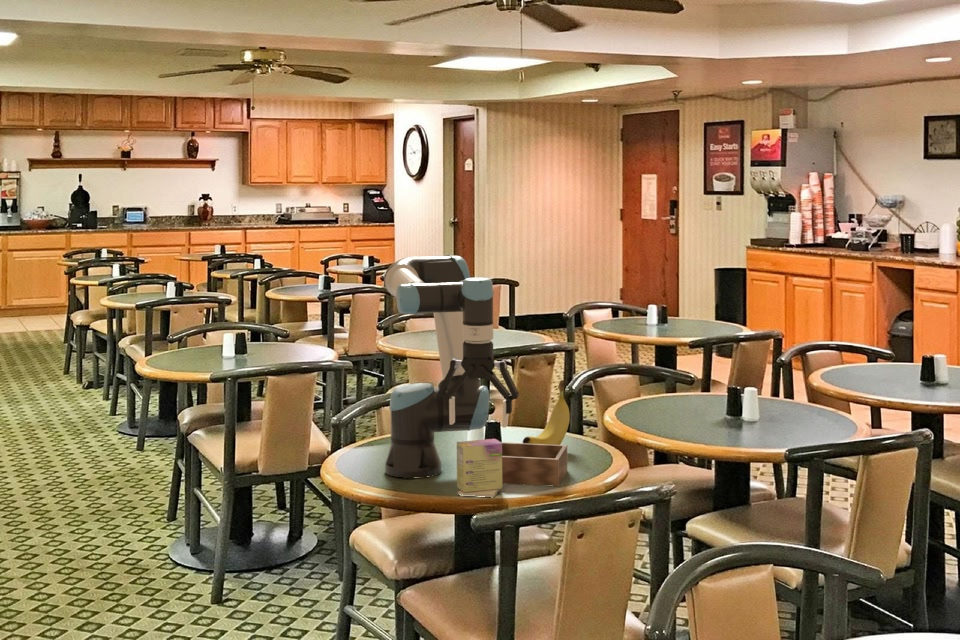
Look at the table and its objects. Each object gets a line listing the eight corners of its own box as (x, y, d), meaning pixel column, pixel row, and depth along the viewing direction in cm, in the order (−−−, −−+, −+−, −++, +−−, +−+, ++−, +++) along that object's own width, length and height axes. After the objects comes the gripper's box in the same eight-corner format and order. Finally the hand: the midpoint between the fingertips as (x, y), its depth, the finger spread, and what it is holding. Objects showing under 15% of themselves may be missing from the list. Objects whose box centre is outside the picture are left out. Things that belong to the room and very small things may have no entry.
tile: (458, 496, 266) (458, 492, 266) (466, 485, 275) (466, 482, 275) (493, 498, 264) (493, 494, 264) (501, 487, 273) (501, 484, 273)
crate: (478, 482, 278) (477, 455, 277) (490, 466, 293) (490, 441, 292) (558, 486, 273) (558, 459, 273) (567, 470, 288) (567, 445, 287)
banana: (534, 465, 294) (533, 393, 291) (516, 462, 297) (515, 391, 294) (574, 447, 312) (574, 379, 310) (556, 444, 316) (556, 378, 313)
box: (495, 483, 274) (494, 437, 272) (503, 489, 268) (502, 442, 267) (456, 487, 270) (455, 441, 269) (463, 493, 265) (462, 446, 264)
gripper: (425, 341, 264) (426, 425, 267) (524, 345, 258) (524, 431, 261) (433, 336, 271) (434, 418, 274) (530, 339, 265) (530, 423, 268)
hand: (478, 424), depth 268 cm, fingers open, 13 cm apart
